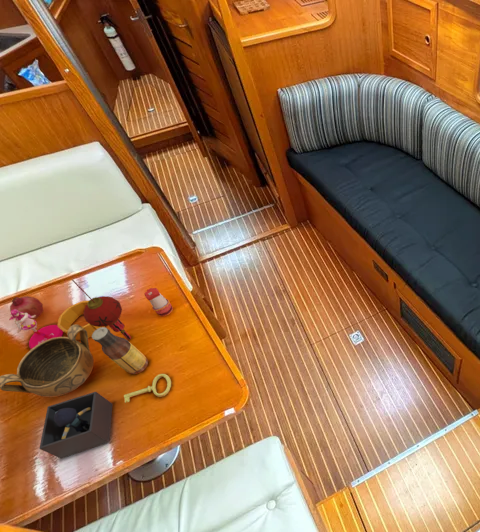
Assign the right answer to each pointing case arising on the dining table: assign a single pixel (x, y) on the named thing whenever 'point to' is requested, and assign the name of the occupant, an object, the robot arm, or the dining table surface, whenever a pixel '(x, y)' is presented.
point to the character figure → (71, 420)
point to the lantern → (104, 313)
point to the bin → (74, 440)
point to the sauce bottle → (120, 351)
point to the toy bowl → (72, 315)
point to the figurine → (38, 335)
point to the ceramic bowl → (53, 366)
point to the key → (151, 388)
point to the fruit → (27, 306)
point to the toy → (158, 302)
